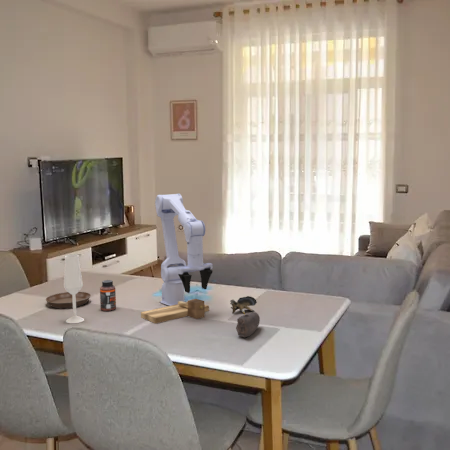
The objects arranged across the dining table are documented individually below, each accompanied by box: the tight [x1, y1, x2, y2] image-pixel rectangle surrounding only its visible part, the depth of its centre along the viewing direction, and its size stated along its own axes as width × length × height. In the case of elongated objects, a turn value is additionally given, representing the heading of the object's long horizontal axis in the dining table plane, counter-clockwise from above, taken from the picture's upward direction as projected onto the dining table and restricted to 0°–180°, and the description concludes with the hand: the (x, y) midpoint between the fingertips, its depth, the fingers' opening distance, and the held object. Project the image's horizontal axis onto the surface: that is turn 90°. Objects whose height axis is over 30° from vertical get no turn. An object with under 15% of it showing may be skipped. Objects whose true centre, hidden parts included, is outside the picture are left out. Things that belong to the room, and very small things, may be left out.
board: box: [140, 301, 210, 325], centre depth 211 cm, size 10×24×2 cm, turn 129°
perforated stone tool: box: [235, 312, 261, 338], centre depth 187 cm, size 15×5×7 cm, turn 152°
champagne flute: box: [63, 254, 85, 324], centre depth 203 cm, size 7×7×24 cm
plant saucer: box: [45, 291, 92, 309], centre depth 228 cm, size 18×18×3 cm
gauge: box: [178, 298, 206, 320], centre depth 210 cm, size 14×4×6 cm, turn 42°
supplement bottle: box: [99, 279, 117, 312], centre depth 218 cm, size 6×6×11 cm
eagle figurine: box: [229, 295, 258, 315], centre depth 211 cm, size 8×7×9 cm
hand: (195, 290), depth 206 cm, fingers open, 7 cm apart
